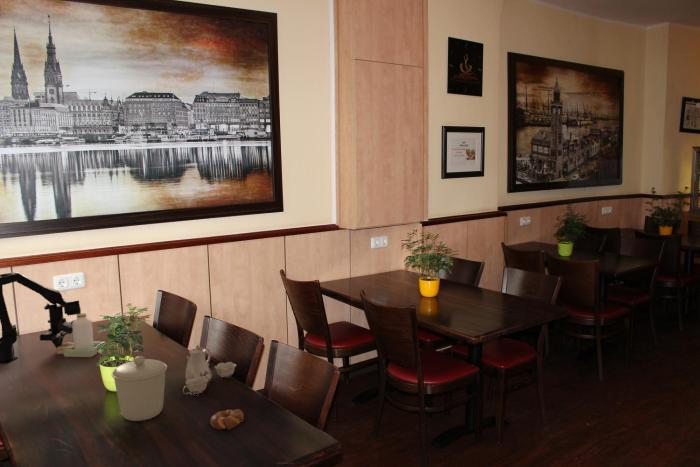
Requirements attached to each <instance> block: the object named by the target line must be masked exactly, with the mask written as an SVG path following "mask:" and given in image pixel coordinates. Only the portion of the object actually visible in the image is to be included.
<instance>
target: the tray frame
mask: <svg viewBox="0 0 700 467" xmlns="http://www.w3.org/2000/svg"><path fill="white" fill-rule="evenodd" d="M105 342H106V341H93V343H94V345H97V346H98V345H100V344H102V343H105ZM97 346H96V347H94V348H92V349H91V350H64V354H63V357H65V358H69V357H71V358H72V357H73V358H74V357H75V358H78V357H79V358H93V357H94V356H95V355H97V354H98V353H97Z"/></svg>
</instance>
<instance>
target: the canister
mask: <svg viewBox="0 0 700 467" xmlns="http://www.w3.org/2000/svg"><path fill="white" fill-rule="evenodd" d="M167 369H168V365H167V363H165V362H163V361H161V360H158V359H151V358H147V359H146V358H145V357H144V356H142V355H138V356H136V357H135V358H134V359H133V360H131V361H128V362H125V363H122V364H120V365H119V366H117V367H115V369H113V370H112V372H111V377H112V378H113V380H114V384H115V392H116V396H117V400H118V404H119V408H120V413H121V415H122V417H123V418H124V419H126V420H128V421H132V422H141V421H147V420H151V419H152V418H154V417H157V416H158V415H159V414H160V413H161V412H162V410H163V407H164V398H165V386H166V385H165V383H166V382H165V381H166V371H167Z"/></svg>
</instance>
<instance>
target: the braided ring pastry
mask: <svg viewBox="0 0 700 467" xmlns="http://www.w3.org/2000/svg"><path fill="white" fill-rule="evenodd" d="M244 419H245V417H244V412H243V411H242V410H241V409H238V408H236V409H234V410H233V409H227V410H220V411H218V412H216V413H214V414H213V415H212V416H211V417H210V419H209V420H210V421H209V422H210V425H211V427H212V428H213V429H215V430H232V429H231V428H233V429H235V428H237V427H238V424H239V423H240V422H242V423H243V422H244ZM240 424H241V423H240ZM240 424H239V425H240ZM236 426H237V427H236ZM234 427H235V428H234ZM225 428H226V429H225Z"/></svg>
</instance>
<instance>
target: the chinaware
mask: <svg viewBox="0 0 700 467" xmlns="http://www.w3.org/2000/svg"><path fill="white" fill-rule="evenodd" d="M206 351H207V352H208V356H207V360H206ZM211 353H212V352H211V351H210V349H209V348H208V347H206V348H205V347H204V348H203V347H202V346H200V345H199V344H198V343H196V345H195V347H193V348H192V349H189V354H190V355H186V356H185V357H186V358H187V364H186V369H185V376H184V380H185V386H184V387H183V389H182V392H183V394H184V395H188V394H189V395H191V396H192V395H194V394H199V393H203V392H204V391H205V390H206V388H207V386H208V385H207V383H208V382H209V381H210V382H211V380H212V378H213V375H214V373H213V371H212V370H211V368H209V366H210V363H209V362H210V361H211V356H212V354H211ZM236 367H237V364H236V363H233V362H232V361H227V362H219V363H217V365H214V367H213V368H214V369H215V370H216V372H217V374H218V376H220V377H221V378H222V377H229V376H230V377H231V376H233V374H234V372H235V368H236ZM185 388H186V389H188V391H189V392H185Z"/></svg>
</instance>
